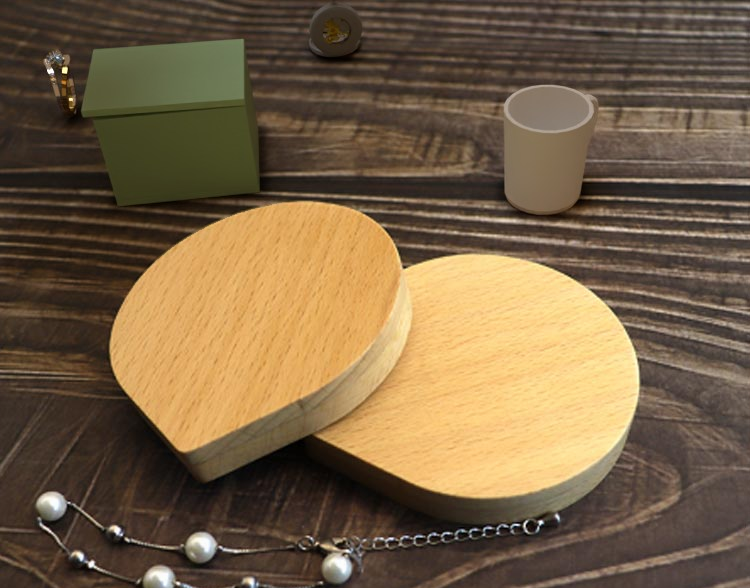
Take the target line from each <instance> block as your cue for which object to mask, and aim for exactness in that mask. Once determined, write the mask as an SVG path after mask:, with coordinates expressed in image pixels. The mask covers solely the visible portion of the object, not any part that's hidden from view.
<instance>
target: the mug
mask: <svg viewBox="0 0 750 588" xmlns="http://www.w3.org/2000/svg"><path fill="white" fill-rule="evenodd" d="M599 108H600V105H599V101H598V98H597V97H595V96H594V95H592V94H590V93H587V94H584V93H582V92H580V91H579V90H577V89H575V88H572V87H568V86H563V85H557V84H538V85H531V86H527V87H524V88H521V89H519V90H517V91H515V92H513V93H512V94H511V95H510V96H508V97H507V98H506V100H505V102H504V103H503V167H504V168H503V169H504V170H503V172H504V173H503V175H504V177H503V178H504V179H503V181H504V182H503V183H504V184H503V185H504V195H505V198H506V200H507V201H508V202H509V204H510V205H511V206H512V207H513V208H516V209H517V210H519V211H521V212H524V213H527V214H529V215H537V216H549V215H556V214H560V213H563V212H565V211H567V210H569V209H570V208H572V207H573V206H574V205H575V204H576V203H577V202H578V201H579V199H580V196H581V191H582V185H583V179H584V175H585V168H586V162H587V155H588V151H589V145H590V142H591V140H592V137H593V134H594V131H595V128H596V124H597V121H598V115H599V110H600V109H599Z"/></svg>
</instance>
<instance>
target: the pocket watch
mask: <svg viewBox="0 0 750 588" xmlns="http://www.w3.org/2000/svg"><path fill="white" fill-rule="evenodd" d="M330 1H331V2H330V3H328V4H325V5H323V6H321V7H320V8H319V9H318V10H317V11H315V12H314V14H313V16H312V18H311V19H310V22H309V25H308V26H309V27H308V31H309V32H308V33H309V37H310V38H309V40H308V46H309V48H310V50H311V51H312V52H313V54H316V55H318V56H320V57H326V58H338V57H342V56H347V55H349V54H351V53H353V52H355V50H357V49H358V48H359V46H360V42H361V37H362V34H363V23H362V19H361V16H360V15H359V13H358V11H356V10H355V9H354V8H353V7H352V6H350V5H348V4H345V3H342V2H336V0H330Z"/></svg>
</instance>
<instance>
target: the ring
mask: <svg viewBox="0 0 750 588" xmlns="http://www.w3.org/2000/svg"><path fill="white" fill-rule="evenodd" d="M70 61H71V57H70V55H69V54H68V53H65V54H63V52H62V50H60V49H58V48H57V49H55V50H52V51H51V52H49V53H48V54H47V55H46V58H44V59H43V64H44V66H45V69H46V70H47V73H48V76H49V78H50V82H51V85H52V88H53V92H54V96H55V99H56V102H57V105H58V107H59V109H60V111H61V113H62V115H63V116H64V117H67V118H68V117H74V116H75V115H77V114H78V109H77V108H78V97H77V96H78V95H77V88H76V87H77V86H76V82H75V76H74V73H73V69H72V66H71V63H70ZM53 66H54V67H55V70H56V69H58V71H59V72H60V73H61V88H60V84H59V81H58V79H57V75H56V73H55V70H54V68H53Z"/></svg>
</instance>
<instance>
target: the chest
mask: <svg viewBox="0 0 750 588" xmlns="http://www.w3.org/2000/svg"><path fill="white" fill-rule="evenodd" d="M247 55H248V54H247V49H246V48H245V105H243V106H229V107H216V108H203V109H189V110H176V111H162V112H149V113H135V114H122V115H108V116H95V117H93V119H92V123H93V126H94V129H95V132H96V136H97V139H98V143H99V146H100V149H101V154H102V157H103V161H104V162H105V163H104V164H105V167H106V170H107V173H108V178H109V180H110V183H111V188H112V190H113V195H114V197H115V200H116V205H117V207H125V206H136V205H137V206H138V205H147V204H157V203H166V202H176V201H186V200H197V199H206V198H216V197H227V196H235V195H236V196H237V195H245V194H257V193H260V192H261V191H260V189H261V187H260V184H261V183H260V147H259V146H260V144H259V143H260V142H259V141H260V140H259V139H260V137H259V125H258V119H257V112H256V105H255V100H254V92H253V87H252V81H251V75H250V69H249V62H248V56H247Z"/></svg>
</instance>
